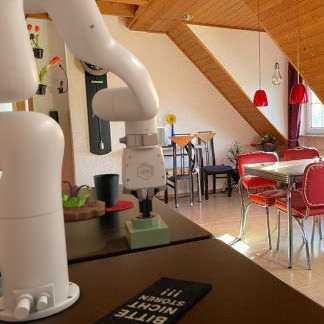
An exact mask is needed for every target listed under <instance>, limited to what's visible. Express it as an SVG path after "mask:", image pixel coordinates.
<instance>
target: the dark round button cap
mask: <svg viewBox="0 0 324 324" xmlns="http://www.w3.org/2000/svg"><path fill="white" fill-rule="evenodd" d="M139 214H140V215H138V214H137V215H138V216H137V218H138V219H148V218H153V217H154V214H150V216H146V217H144V216H143V215H142V213H139Z"/></svg>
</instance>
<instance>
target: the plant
mask: <svg viewBox="0 0 324 324" xmlns="http://www.w3.org/2000/svg"><path fill="white" fill-rule="evenodd" d="M66 183H67V184H68V186H69V195H67V194H63V197H62V207H63V217H64V222H72V221H73V222H76V221H85V220H89V219H92V218H99V217H102V216H104V215H105V214H106V202H105V201H102V200H97V199H92V198H90V197H89V195H90V193H87V194H84V195H82V194H81V193H80V191H81V189H82V188H84V187H85V188H86V191H87V192H91V191H92V187H91V186H90V185H87V184H81V185H80V186H79V185H77V184H74V185H73V184H72V183H71V182H70V181H69V180H61V187H64V186H65V185H66ZM81 195H82V197H81Z"/></svg>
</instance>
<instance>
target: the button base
mask: <svg viewBox="0 0 324 324" xmlns="http://www.w3.org/2000/svg"><path fill="white" fill-rule="evenodd" d="M140 214H141V213H139V214H134V215H133V216H131V217H130V220H126V221H124V232H125V238H126V241H127V243H128V245H129V247H130V249H131V250H134V249H141V248H147V247H155V246H161V245H168V244H170V243H171V242H170V241H171V240H170V227H169V226H168V224H166V223H165V221H164V220H163V219H162V218H161V215H160V213H156V212H150V214H154V217H153V218H148V219H138V218H137V216H138V215H140Z"/></svg>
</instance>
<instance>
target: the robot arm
mask: <svg viewBox="0 0 324 324" xmlns="http://www.w3.org/2000/svg"><path fill="white" fill-rule="evenodd" d="M43 13H47V14H48V16H49V17H50V19H51V21H52V23H53V25H54V26H55V29H56V30H57V32H58V33H59V36H60V38H61V39H62V41H63V43H64V44H65V46H66V49H67V50H68V52H69V53H70V54H71V55H72V57H74V58H76V59H78V60H80V61H83V62H85V63H86V64H89V65H93V66H94V67H98V68H101V69H103V70H106V71H107V72H110V73H112V74H113V75H115V76H116V77H118V78H119V79H120V80H121V81H123V83H125V85H126V86H117V87H106V88H102V89H100V90H98V91H97V92H95V94H94V95H93V98H92V100H91V108H92V111H93V113H94V114H95V116H97V117H98V118H99V119H101V120H103V121H105V122H113V123H117V122H121V123H122V122H123V123H124V136H122V137H119V138H118V142H119V144H122V145H123V144H124V145H125V147H123V148H122V156H121V181H122V182H121V183H122V188H121V193H122V194H123V195H130V196H131V195H132V196H133V197H134V198H136V199H137V200H138V212H139V214H142V215H143V216H144V217H146V216H150V213H153V200H154V198H155V196H156V195H157V194H158V193H160V192H163V191H166V190H167V189H168V186H167V172H166V171H167V170H166V163H165V156H164V151H163V147H162V146H160V145H159V142H158V141H159V139H158V123H157V114H158V113H159V110H160V100H159V95H158V92H157V89H156V86H155V84H154V82H153V78H152V77H151V74H150V72H149V71H148V69H147V67H146V66H145V65H144V63H142V61H141V60H140V59H139V58H137V57H136V55H134V54H133V53H132V52H131V51H130V50H129V49H128V48H126V47H125V46H123V45H122V44H121V43H120V42H118V41H117V40H115V39H114V38H113V36H112V35H111V33H110V31H109V29H108V26H107V24H106V22H105V20H104V17H103V16H102V13H101V11H100V8H99V7H98V4H97V3H96V0H0V104H13V103H20V102H24V101H27V100H29V99H31V98H32V97H33V96H35V95H36V93H37V91H38V89H39V86H40V85H39V81H40V80H39V73H38V68H37V63H36V59H35V55H34V51H33V47H32V43H31V39H30V34H29V30H28V27H27V22H26V17H25V16H26V15H36V14H43ZM25 14H26V15H25ZM64 153H65V135H64V132H63V130H62V128H61V126H60V125H59V123H58V122H57V121H56V120H55V119H54V118H52V117H51V116H49V115H47V114H45V113H42V112H38V111H31V110H9V111H8V110H6V111H0V172H1V175H0V278H1V288H2V289H1V290H2V295H1V296H0V321H3V322H9V323H10V322H11V323H18V322H20V323H21V322H29V321H34V320H38V319H39V320H40V319H44V318H47V317H50V316H53V315H55V314H58V313H60V312H62V311H64V310H66V309H68V308H69V307H71V306H72V305H74V304H75V303H76V301H77V300H78V299H79V297H80V287H79V285H78V284H76V283H74V282H72V281H69V279H70V278H69V270H68V269H69V268H68V257H67V256H68V255H67V254H68V253H67V243H66V231H65V230H66V229H65V221H64V217H63V207H62V198H63V195H62V194H63V193H62V186H61V182H62V168H63V161H64ZM143 190H146V195H145V197H144V195H143Z"/></svg>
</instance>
